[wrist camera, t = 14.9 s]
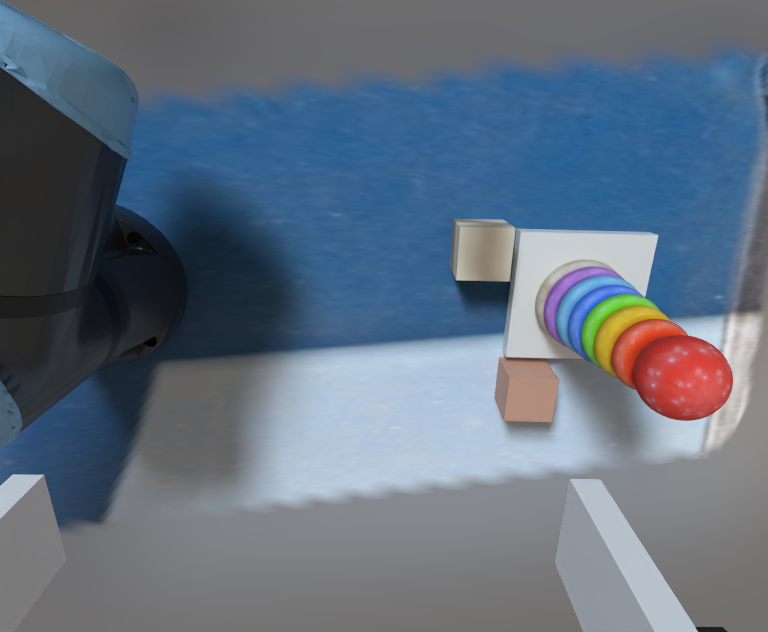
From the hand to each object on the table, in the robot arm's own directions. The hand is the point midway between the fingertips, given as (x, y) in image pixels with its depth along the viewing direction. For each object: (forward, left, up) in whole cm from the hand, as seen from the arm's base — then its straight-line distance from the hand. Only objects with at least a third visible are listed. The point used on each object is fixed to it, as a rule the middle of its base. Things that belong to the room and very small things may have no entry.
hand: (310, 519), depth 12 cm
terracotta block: (+15, -13, -34) cm, 40 cm away
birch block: (+10, 0, -34) cm, 36 cm away
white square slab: (+19, -4, -34) cm, 40 cm away
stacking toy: (+19, -4, -33) cm, 38 cm away
